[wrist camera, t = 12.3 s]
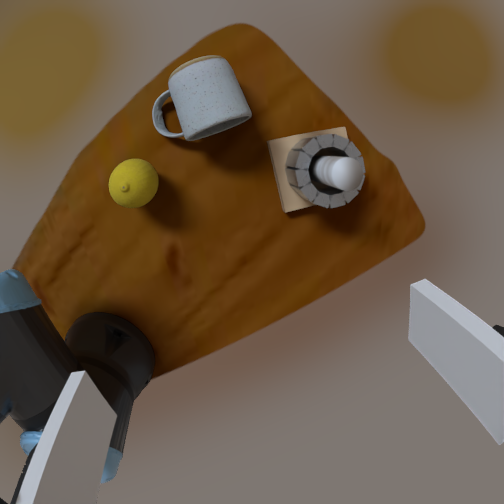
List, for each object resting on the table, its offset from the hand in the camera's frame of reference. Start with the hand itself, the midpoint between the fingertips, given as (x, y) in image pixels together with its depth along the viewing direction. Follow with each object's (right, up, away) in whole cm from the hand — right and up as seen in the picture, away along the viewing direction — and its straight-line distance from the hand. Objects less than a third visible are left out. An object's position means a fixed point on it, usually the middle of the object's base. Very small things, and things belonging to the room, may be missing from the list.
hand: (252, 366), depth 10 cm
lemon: (-14, +13, +24) cm, 31 cm away
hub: (+8, +14, +25) cm, 30 cm away
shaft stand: (+8, +15, +26) cm, 31 cm away
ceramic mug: (-6, +21, +23) cm, 32 cm away
